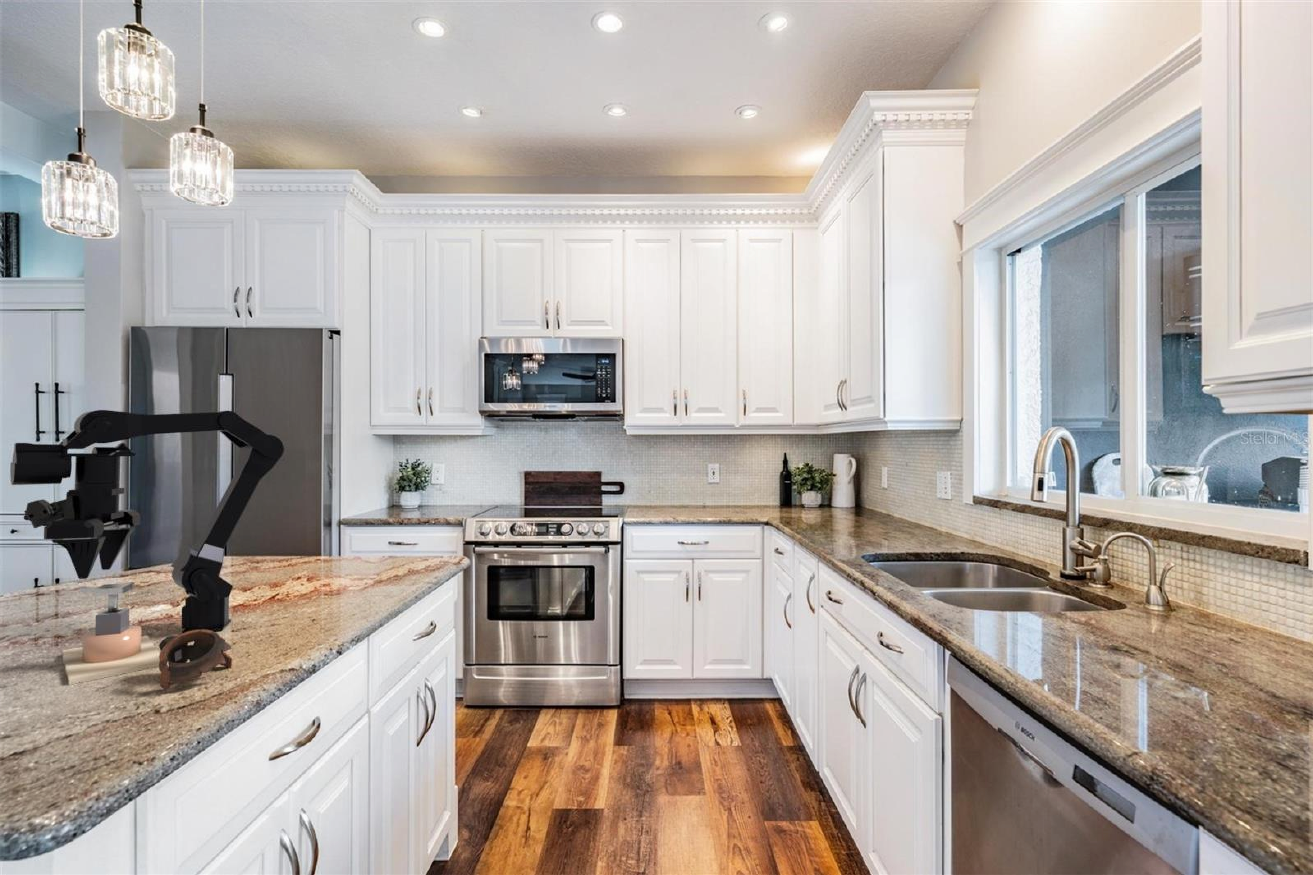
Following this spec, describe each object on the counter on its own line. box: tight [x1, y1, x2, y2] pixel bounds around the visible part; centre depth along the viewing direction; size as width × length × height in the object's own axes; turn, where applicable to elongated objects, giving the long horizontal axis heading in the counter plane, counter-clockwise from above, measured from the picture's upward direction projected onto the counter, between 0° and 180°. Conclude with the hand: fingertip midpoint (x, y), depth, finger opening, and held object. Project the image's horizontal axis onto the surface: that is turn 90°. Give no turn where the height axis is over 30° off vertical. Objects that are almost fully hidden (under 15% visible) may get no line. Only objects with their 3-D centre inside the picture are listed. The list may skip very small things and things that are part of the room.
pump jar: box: [81, 607, 142, 663], centre depth 99 cm, size 7×7×7 cm
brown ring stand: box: [158, 629, 233, 691], centre depth 92 cm, size 12×10×8 cm
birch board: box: [61, 635, 160, 686], centre depth 99 cm, size 18×11×1 cm, turn 47°
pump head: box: [77, 582, 134, 613], centre depth 99 cm, size 6×4×4 cm, turn 112°
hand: (95, 573), depth 104 cm, fingers open, 8 cm apart
